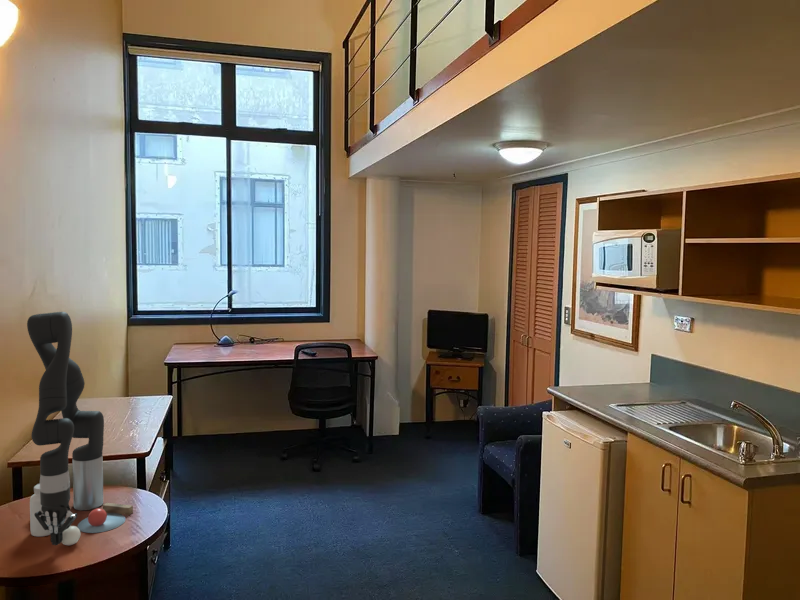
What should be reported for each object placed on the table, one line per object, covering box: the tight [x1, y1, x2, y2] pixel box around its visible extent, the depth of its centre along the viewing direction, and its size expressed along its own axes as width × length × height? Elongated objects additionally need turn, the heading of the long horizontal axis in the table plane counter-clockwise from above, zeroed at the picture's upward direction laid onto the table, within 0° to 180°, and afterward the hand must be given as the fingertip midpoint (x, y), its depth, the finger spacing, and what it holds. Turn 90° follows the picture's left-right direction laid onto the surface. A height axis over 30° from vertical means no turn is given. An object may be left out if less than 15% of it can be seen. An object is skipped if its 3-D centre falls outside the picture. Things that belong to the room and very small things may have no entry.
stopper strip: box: [102, 502, 134, 516], centre depth 202 cm, size 10×2×2 cm, turn 79°
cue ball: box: [61, 525, 82, 546], centre depth 179 cm, size 6×6×6 cm
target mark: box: [77, 513, 126, 534], centre depth 194 cm, size 14×14×1 cm
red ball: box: [87, 507, 107, 526], centre depth 192 cm, size 6×6×6 cm
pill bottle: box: [29, 483, 51, 537], centre depth 187 cm, size 8×8×15 cm
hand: (56, 543), depth 174 cm, fingers closed
